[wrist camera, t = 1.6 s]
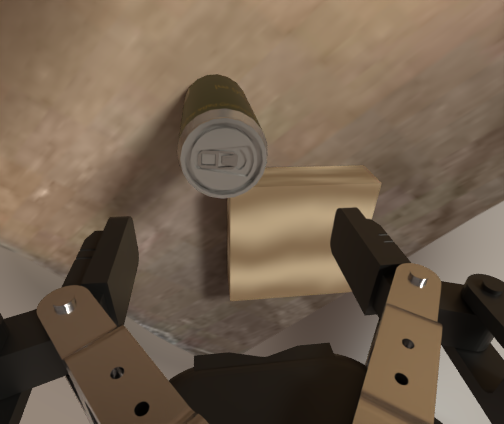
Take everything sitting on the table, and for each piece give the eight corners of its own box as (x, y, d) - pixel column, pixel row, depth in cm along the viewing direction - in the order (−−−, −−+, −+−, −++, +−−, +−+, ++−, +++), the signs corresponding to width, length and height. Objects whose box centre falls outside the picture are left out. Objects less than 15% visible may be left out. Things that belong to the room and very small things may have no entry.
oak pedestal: (227, 168, 32) (230, 187, 29) (363, 165, 34) (381, 183, 31) (227, 275, 40) (230, 301, 36) (339, 268, 42) (351, 291, 38)
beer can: (184, 133, 30) (176, 201, 20) (183, 69, 27) (174, 110, 17) (243, 137, 31) (264, 202, 21) (248, 75, 28) (277, 116, 18)
